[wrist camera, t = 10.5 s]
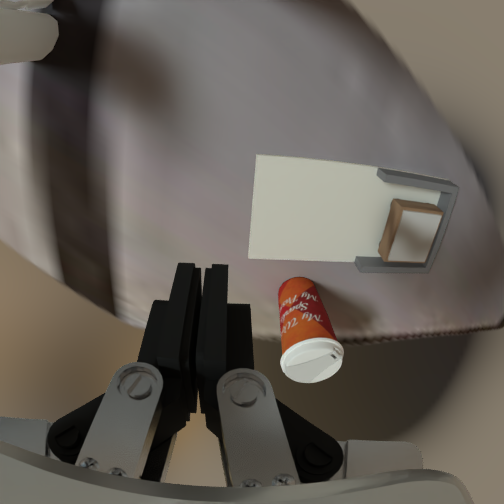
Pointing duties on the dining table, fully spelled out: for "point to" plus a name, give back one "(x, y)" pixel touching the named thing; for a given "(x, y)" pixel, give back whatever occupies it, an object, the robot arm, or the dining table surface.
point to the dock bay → (336, 210)
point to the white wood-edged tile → (409, 231)
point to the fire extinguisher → (26, 31)
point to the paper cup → (306, 333)
